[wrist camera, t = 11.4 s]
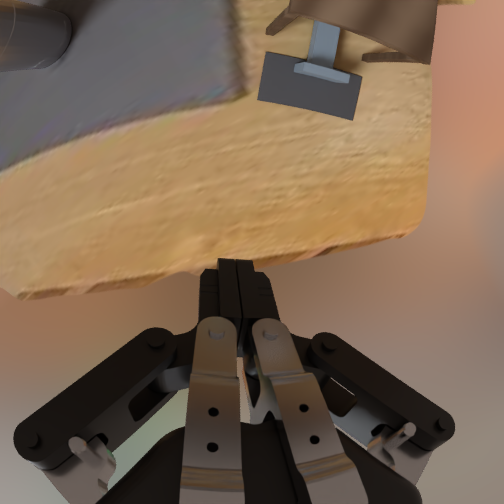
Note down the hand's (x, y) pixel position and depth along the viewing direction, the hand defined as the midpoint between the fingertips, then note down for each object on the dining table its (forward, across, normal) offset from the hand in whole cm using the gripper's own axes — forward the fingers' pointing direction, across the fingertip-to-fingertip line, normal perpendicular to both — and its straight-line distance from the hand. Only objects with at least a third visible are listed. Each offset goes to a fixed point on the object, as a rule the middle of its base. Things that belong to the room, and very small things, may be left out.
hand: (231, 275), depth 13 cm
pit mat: (+29, -11, -10) cm, 33 cm away
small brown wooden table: (+29, -11, -21) cm, 37 cm away
